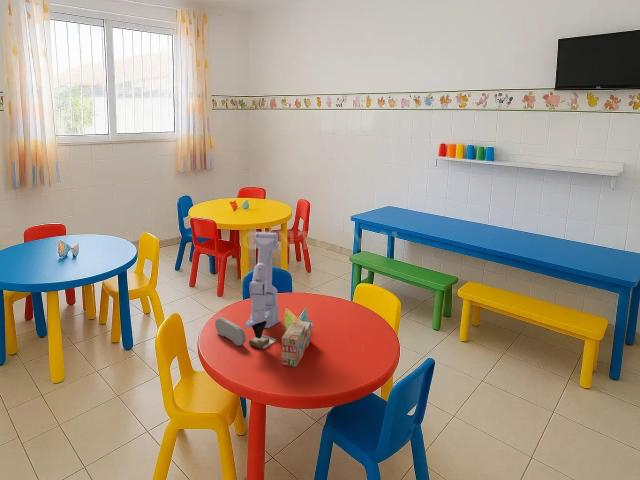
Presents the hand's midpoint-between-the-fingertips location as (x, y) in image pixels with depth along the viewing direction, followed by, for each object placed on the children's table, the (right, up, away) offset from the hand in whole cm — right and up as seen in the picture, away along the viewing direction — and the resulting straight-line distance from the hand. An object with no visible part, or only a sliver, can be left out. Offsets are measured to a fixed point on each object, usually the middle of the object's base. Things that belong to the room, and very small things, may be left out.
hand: (258, 337), depth 196 cm
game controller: (-13, -2, +5) cm, 14 cm away
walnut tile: (-1, -3, -1) cm, 3 cm away
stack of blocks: (+16, -6, -4) cm, 18 cm away
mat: (+2, -3, +4) cm, 5 cm away
